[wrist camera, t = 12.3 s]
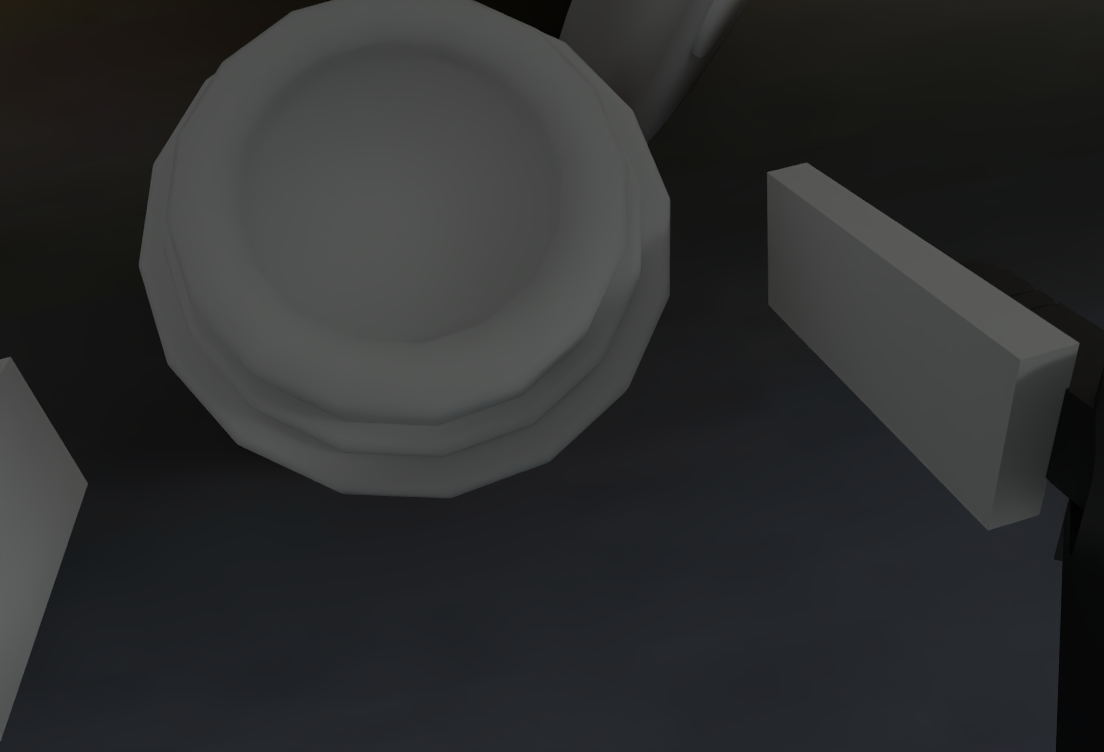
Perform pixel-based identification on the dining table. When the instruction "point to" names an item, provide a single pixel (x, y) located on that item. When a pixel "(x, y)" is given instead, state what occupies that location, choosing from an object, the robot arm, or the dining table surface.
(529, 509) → the dining table surface
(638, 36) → the wooden trolley
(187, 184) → the coffee cup
